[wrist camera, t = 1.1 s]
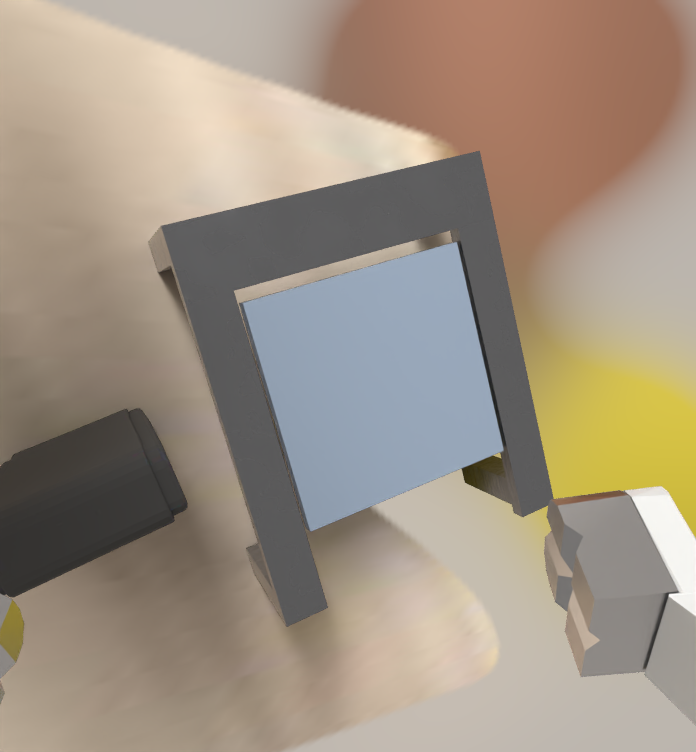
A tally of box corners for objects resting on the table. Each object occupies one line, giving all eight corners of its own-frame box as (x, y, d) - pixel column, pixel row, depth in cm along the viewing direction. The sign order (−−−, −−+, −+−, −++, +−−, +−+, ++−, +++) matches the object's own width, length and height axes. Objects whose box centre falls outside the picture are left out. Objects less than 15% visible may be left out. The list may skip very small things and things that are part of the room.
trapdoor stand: (148, 242, 42) (160, 225, 34) (416, 177, 48) (479, 150, 40) (254, 573, 46) (286, 626, 39) (485, 473, 53) (554, 502, 45)
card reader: (23, 516, 41) (-14, 624, 27) (-6, 459, 40) (-59, 539, 26) (164, 455, 43) (196, 523, 29) (140, 400, 42) (162, 444, 29)
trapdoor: (239, 303, 37) (243, 303, 36) (448, 243, 41) (456, 242, 40) (305, 526, 39) (310, 531, 39) (495, 447, 44) (503, 450, 43)
